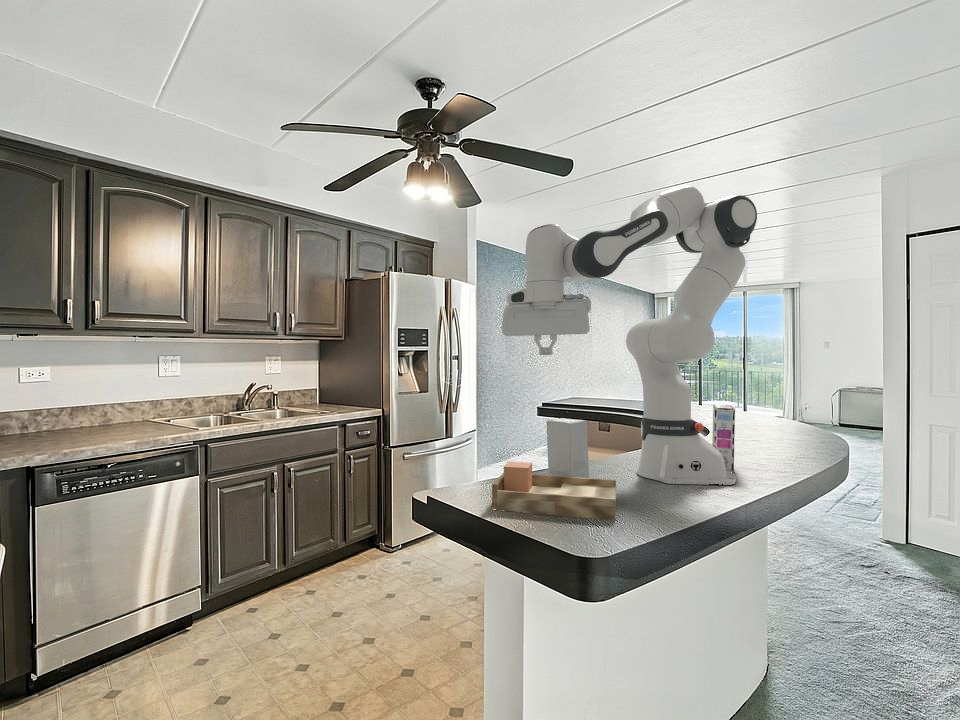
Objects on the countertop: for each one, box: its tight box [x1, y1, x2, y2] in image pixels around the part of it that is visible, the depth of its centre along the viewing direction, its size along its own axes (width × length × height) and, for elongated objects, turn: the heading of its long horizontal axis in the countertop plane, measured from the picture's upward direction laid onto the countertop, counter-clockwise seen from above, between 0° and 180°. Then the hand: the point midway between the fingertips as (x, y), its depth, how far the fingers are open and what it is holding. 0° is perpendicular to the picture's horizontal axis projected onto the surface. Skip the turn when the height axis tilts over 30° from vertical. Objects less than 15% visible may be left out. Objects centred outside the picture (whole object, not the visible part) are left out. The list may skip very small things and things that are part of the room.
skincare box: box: [545, 417, 590, 478], centre depth 121 cm, size 8×6×15 cm
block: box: [503, 461, 533, 492], centre depth 106 cm, size 5×5×5 cm
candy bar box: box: [711, 404, 736, 474], centre depth 136 cm, size 11×5×16 cm, turn 158°
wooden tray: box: [491, 472, 617, 521], centre depth 104 cm, size 23×15×5 cm, turn 75°
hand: (546, 354), depth 121 cm, fingers closed
